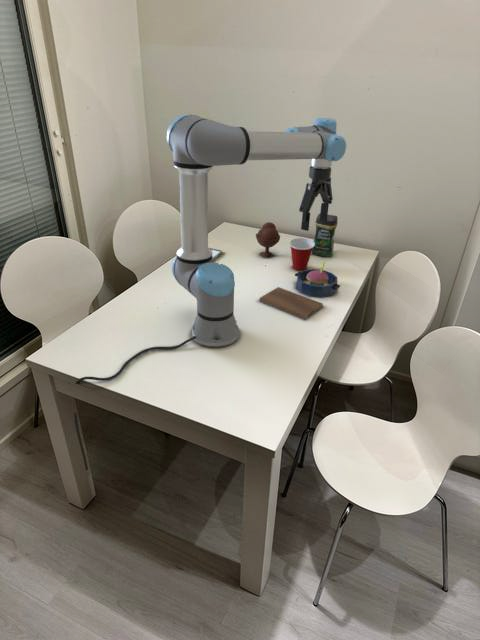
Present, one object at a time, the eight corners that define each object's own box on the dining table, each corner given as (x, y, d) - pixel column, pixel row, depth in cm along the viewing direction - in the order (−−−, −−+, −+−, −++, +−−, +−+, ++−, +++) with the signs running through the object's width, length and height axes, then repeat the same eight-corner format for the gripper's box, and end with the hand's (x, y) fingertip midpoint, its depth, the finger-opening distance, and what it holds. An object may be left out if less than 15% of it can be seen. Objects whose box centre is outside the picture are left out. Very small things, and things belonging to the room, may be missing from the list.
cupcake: (326, 283, 185) (330, 256, 178) (327, 293, 177) (331, 265, 171) (305, 282, 185) (308, 254, 179) (305, 291, 178) (308, 263, 172)
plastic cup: (285, 272, 193) (287, 245, 187) (288, 262, 202) (291, 236, 196) (310, 275, 191) (313, 248, 185) (313, 265, 200) (316, 239, 194)
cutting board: (305, 319, 160) (305, 316, 159) (259, 301, 171) (259, 297, 170) (322, 307, 168) (323, 303, 167) (278, 290, 179) (278, 286, 178)
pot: (326, 302, 171) (328, 291, 169) (285, 287, 181) (286, 277, 179) (346, 288, 182) (348, 278, 179) (306, 274, 191) (307, 264, 189)
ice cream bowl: (250, 252, 210) (252, 221, 202) (271, 249, 214) (274, 218, 206) (261, 261, 202) (263, 229, 194) (283, 257, 206) (285, 225, 198)
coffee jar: (309, 254, 210) (314, 215, 200) (314, 249, 216) (319, 210, 206) (330, 258, 207) (336, 219, 197) (334, 252, 213) (340, 213, 203)
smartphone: (192, 259, 199) (208, 247, 211) (192, 261, 200) (208, 249, 211) (207, 262, 196) (222, 250, 208) (207, 264, 197) (222, 252, 209)
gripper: (311, 174, 149) (305, 236, 160) (346, 162, 166) (338, 218, 177) (292, 170, 152) (287, 231, 163) (328, 159, 169) (321, 214, 180)
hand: (314, 225), depth 170 cm, fingers open, 13 cm apart
